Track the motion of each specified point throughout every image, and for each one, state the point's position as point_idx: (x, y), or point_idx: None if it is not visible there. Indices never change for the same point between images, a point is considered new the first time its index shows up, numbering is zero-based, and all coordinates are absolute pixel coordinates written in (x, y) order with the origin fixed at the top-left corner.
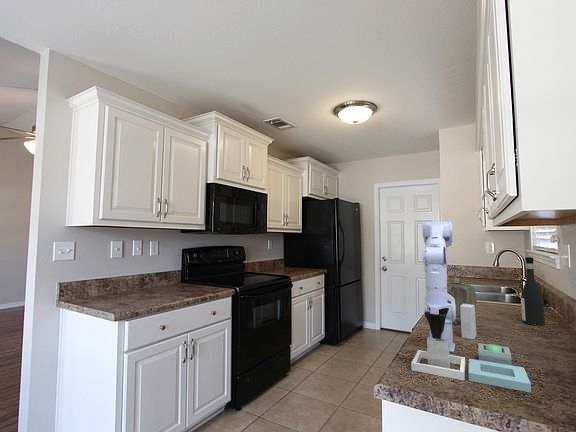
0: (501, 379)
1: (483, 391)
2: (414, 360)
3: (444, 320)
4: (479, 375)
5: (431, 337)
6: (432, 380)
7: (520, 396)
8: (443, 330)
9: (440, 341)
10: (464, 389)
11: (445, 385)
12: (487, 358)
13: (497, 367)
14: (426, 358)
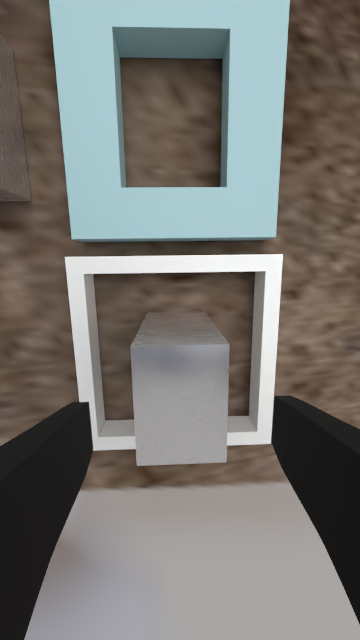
0: (281, 101)
1: (342, 189)
2: (234, 439)
3: (28, 460)
4: (277, 193)
5: (168, 446)
6: (320, 354)
7: (332, 55)
8: (82, 407)
9: (226, 388)
10: (352, 252)
11: (345, 312)
12: (7, 149)
13: (116, 107)
14: (103, 403)
